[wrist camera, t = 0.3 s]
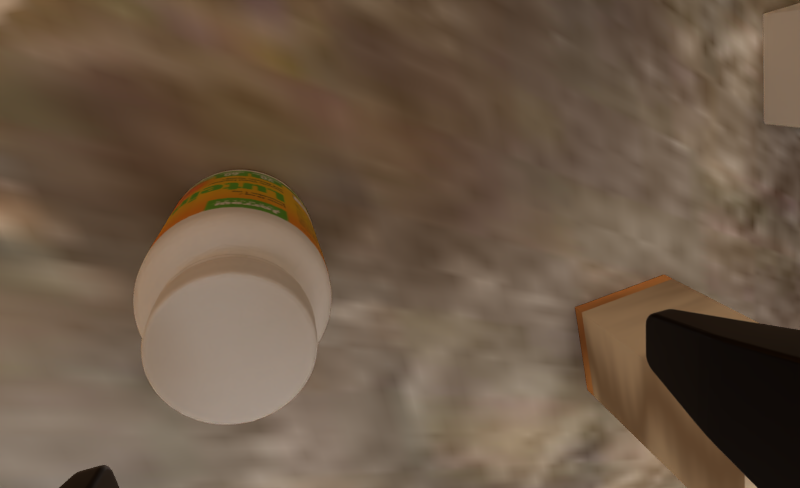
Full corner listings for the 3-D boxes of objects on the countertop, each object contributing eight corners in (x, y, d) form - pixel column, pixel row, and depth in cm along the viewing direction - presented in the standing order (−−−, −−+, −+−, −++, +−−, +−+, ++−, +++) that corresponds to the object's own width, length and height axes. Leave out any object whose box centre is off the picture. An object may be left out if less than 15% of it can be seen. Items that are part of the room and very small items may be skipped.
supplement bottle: (292, 152, 21) (317, 214, 12) (325, 277, 23) (369, 410, 14) (149, 186, 20) (63, 280, 11) (196, 313, 22) (154, 480, 13)
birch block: (670, 357, 29) (862, 491, 20) (587, 389, 28) (746, 545, 19) (663, 274, 27) (871, 380, 18) (575, 307, 27) (743, 435, 17)
